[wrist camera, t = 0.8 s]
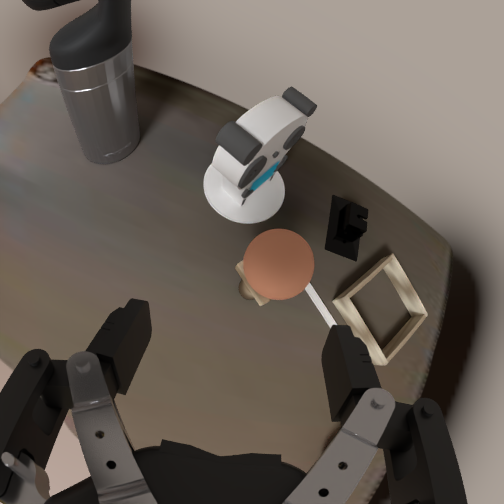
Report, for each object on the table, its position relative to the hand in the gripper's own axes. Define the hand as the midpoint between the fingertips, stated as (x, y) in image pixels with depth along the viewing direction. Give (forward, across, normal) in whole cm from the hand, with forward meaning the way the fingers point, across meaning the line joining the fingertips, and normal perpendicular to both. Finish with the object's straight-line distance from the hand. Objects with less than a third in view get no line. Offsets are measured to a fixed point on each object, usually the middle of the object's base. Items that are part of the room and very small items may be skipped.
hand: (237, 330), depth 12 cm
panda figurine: (+29, +2, +1) cm, 29 cm away
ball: (+12, -3, +3) cm, 13 cm away
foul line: (+20, -11, +13) cm, 26 cm away
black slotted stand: (+30, -13, +5) cm, 33 cm away
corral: (+22, -20, +13) cm, 32 cm away
